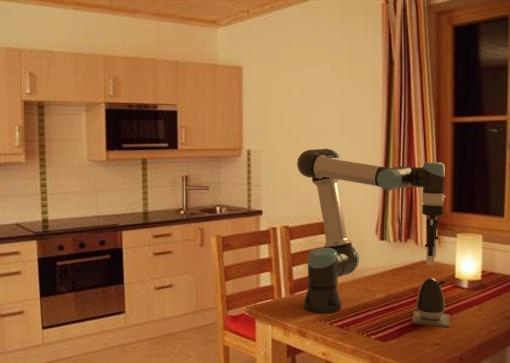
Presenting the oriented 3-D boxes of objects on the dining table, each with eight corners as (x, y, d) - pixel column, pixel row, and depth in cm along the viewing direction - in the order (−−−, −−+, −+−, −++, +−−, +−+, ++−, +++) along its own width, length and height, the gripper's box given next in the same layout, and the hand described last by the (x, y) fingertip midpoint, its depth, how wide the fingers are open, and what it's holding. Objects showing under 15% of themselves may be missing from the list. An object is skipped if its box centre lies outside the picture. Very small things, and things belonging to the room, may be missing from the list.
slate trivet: (411, 323, 201) (411, 321, 201) (414, 312, 213) (414, 310, 213) (448, 327, 197) (448, 325, 197) (449, 316, 209) (449, 314, 209)
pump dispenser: (447, 323, 199) (448, 282, 198) (417, 321, 201) (418, 281, 200) (443, 314, 209) (444, 275, 208) (415, 312, 211) (415, 274, 210)
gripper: (442, 209, 189) (440, 269, 190) (444, 200, 212) (442, 254, 214) (420, 207, 191) (418, 267, 193) (424, 199, 214) (422, 252, 216)
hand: (431, 260), depth 203 cm, fingers open, 13 cm apart
